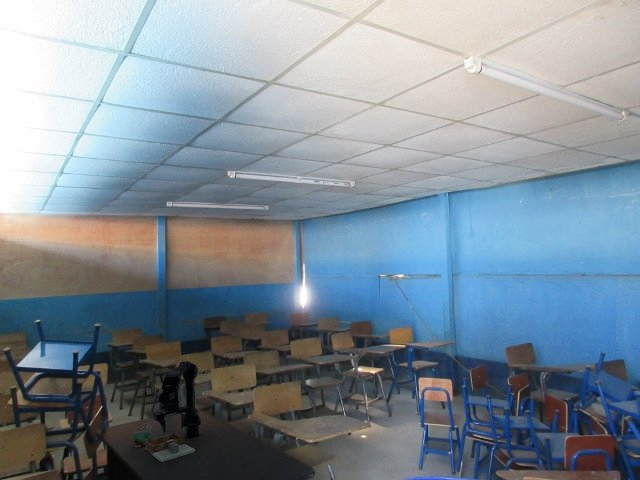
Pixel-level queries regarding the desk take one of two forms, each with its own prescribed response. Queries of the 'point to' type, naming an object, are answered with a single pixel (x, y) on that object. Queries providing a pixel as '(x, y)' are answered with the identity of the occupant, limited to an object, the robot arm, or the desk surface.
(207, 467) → the desk surface
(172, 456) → the lid
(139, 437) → the food container
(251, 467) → the desk surface
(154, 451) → the crate
